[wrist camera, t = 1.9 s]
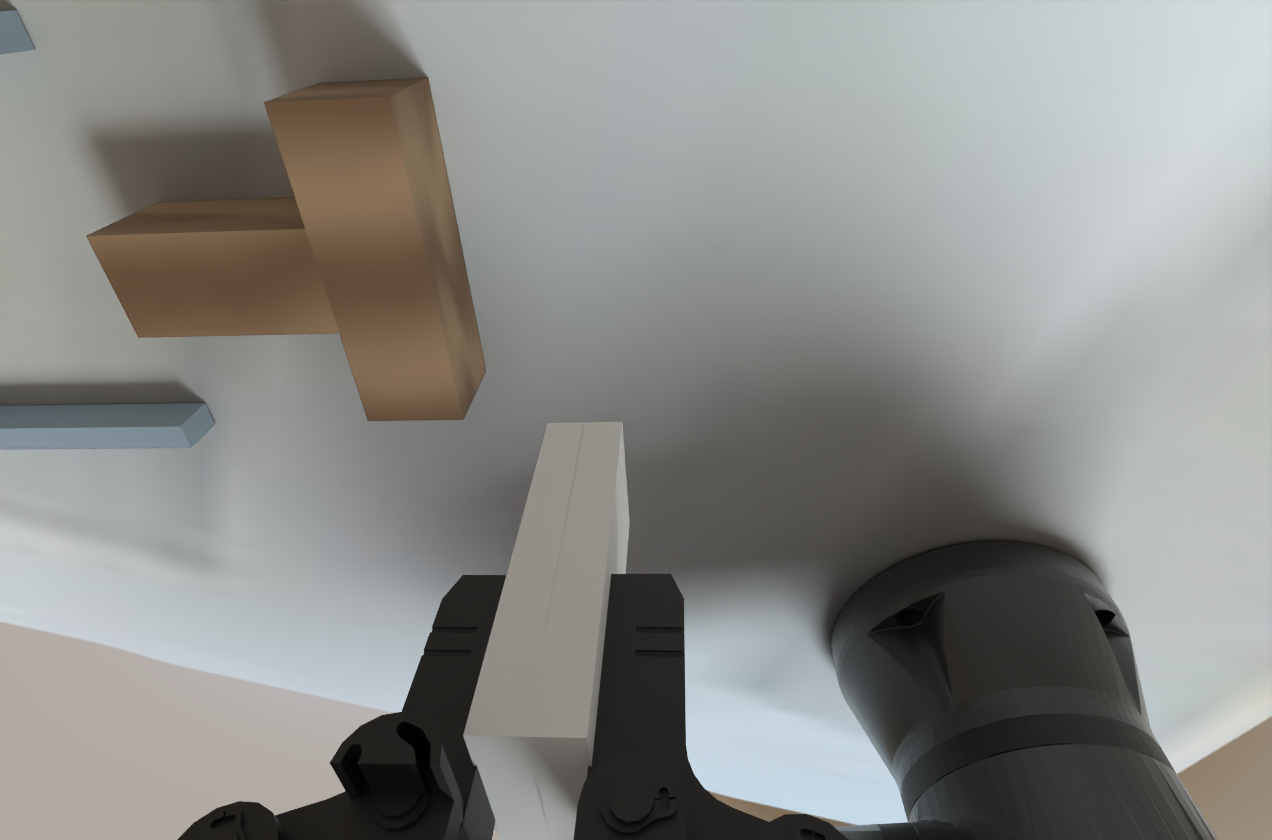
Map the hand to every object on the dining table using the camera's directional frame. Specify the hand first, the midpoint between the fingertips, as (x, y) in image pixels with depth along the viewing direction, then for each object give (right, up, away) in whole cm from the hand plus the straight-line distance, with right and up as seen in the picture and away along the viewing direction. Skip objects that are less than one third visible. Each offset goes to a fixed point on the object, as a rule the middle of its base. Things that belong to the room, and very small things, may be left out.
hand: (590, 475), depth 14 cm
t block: (-12, +8, +14) cm, 20 cm away
